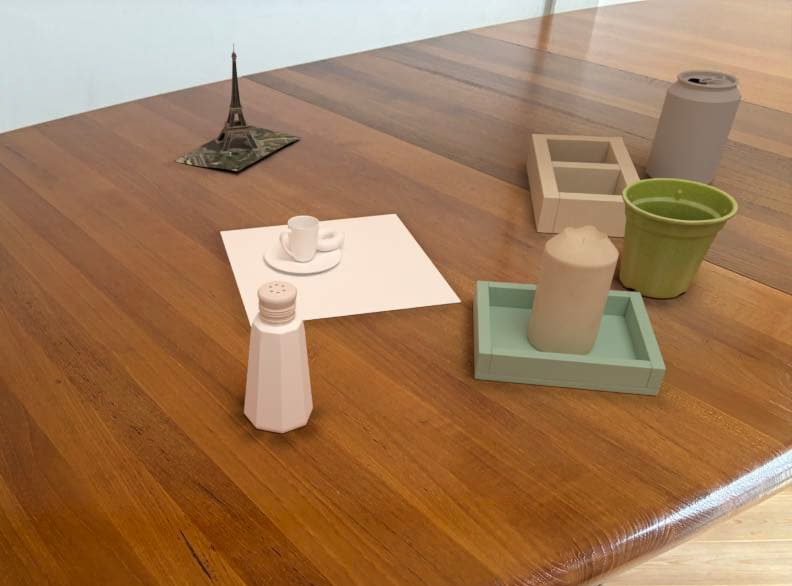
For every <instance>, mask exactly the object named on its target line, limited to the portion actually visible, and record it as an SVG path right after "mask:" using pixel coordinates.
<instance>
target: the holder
mask: <svg viewBox="0 0 792 586" xmlns="http://www.w3.org/2000/svg"><path fill="white" fill-rule="evenodd" d="M525 165H526V172H527V178H528V185H529V190H530V197H531V203H532V209H533V216H534V222H535V223H534V224H535V228H536V232H537V233H541V234H559V233H560V232H562V231H563V230H564V229H565V228H567V227H572V228H574V229H579V228H582V227H584V226H588V225H590V226H594V227H595V228H596V229H597V230H598V231H599V232H601V233H605V234H606V235H607V237H608V238H624V233H625V224H626V215H625V203H624V201H623V198H622V193H623V190H624V189H625V188H626V187H627V186H628V185H629V184H631V183H634V182H636V181H640V180H641V179H640V177H639V174H638V172H637V169H636V167H635V166H634V163H633V160H632V158H631V155H630V154H629V151H628V149H627V146H626V144H625V142H624V140H623V137H619V136H618V137H617V136H598V135H597V136H594V135H571V134H543V133H532V134H531V137H530V142H529V147H528V153H527V159H526V164H525Z"/></svg>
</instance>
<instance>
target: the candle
mask: <svg viewBox="0 0 792 586" xmlns="http://www.w3.org/2000/svg"><path fill="white" fill-rule="evenodd" d="M619 256H620V254H619V250H618V249H617V247H616V245H615V244H614V243H613V242H612V241H611V239H610V237H607V235H606V234H605V233H601V232H599V231H598V230H597V229H596V228H595V227H594V226H590V225H588V226H584V227H582V228H579V229H574V228H572V227H567V228H565V229H564V230H563V231H562V232H560V233H559V234H558V233H556V235H554V236H553V237H551V238H550V239H548V241H546V243H545V245H544V250H543V254H542V260H541V264H540V269H539V273H538V278H537V283H536V285H537V288H536V293H535V297H534V302H533V307H532V312H531V317H530V321H529V327H528V340H529V342H530V343H531V344H532V345H533V346H534V347H535V348H537V349H538V350H540V351H542V352H551V353H563V354H574V355H585V354H587V353H589V352H590V351H591V350H592V348H593V346H594V344H595V341H596V338H597V334H598V330H599V327H600V323H601V319H602V316H603V312H604V308H605V304H606V301H607V297H608V293H609V290H611V286H612V281H613V278H614V275H615V271H616V267H617V263H618V260H619Z"/></svg>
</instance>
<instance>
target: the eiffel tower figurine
mask: <svg viewBox="0 0 792 586" xmlns="http://www.w3.org/2000/svg"><path fill="white" fill-rule="evenodd" d="M232 48H233V49H232V53H231V55H230V57H231V60H232V61H231V66H232V67H231V95H230V96H231V97H230V104H229V105H228V107H229V111H228V115H227V119H226V120H225V121H224V126H223V128H222V129H221V131H220V132H219V134H218V136H217V137H215V138H214V139H212V140H210V141H208V142H206V143H204V144H202V145H200V146H198V147H197V148H195V149H194V150H191V151H190V152H189V153H187V154H185V155H183V156H181V157H179V158H178V159H176V160H175V161H174V163H179V164H186V165H191V166H196V167H204V168H214V169H222V170H223V169H224V170H229V171H235V172H239V171H241V170H242V169H244V168H247V167H248V166H250V165H253V164H254V163H255V162H257V161H260V160H261V159H263V158H264V157H266V156H268V155H269V154H272V153H274V152H275V151H277V150H279V149H281V148H283V147H284V146H287V145H289V144H291V143H293V142H295V141H298V140H299V139H301V138H302V137H301V136H297V135H292V134H288V133H284V132H280V131H275V130H272V129H267V128H262V127H260V126H259V127H258V126H254V125H250V124H248V122H247V121H246V119H245V117H244V113H243V106H242V103H241V98H240V97H241V96H240V89H239V81H238V80H239V79H238V70H237V53H236V52H235V43H232ZM236 115H237V117H238V119H236V118H235V117H236ZM235 119H236V120H235Z"/></svg>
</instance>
